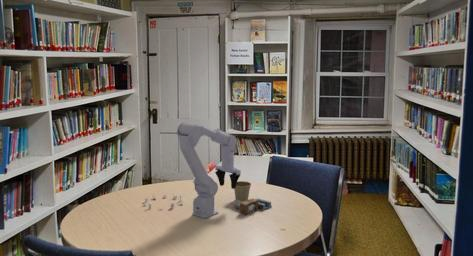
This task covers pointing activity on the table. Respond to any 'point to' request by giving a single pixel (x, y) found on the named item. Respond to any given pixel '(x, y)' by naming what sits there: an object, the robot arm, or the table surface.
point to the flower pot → (242, 190)
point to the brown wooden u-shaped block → (245, 206)
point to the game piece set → (163, 197)
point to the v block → (263, 204)
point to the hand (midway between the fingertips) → (227, 186)
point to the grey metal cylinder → (250, 207)
